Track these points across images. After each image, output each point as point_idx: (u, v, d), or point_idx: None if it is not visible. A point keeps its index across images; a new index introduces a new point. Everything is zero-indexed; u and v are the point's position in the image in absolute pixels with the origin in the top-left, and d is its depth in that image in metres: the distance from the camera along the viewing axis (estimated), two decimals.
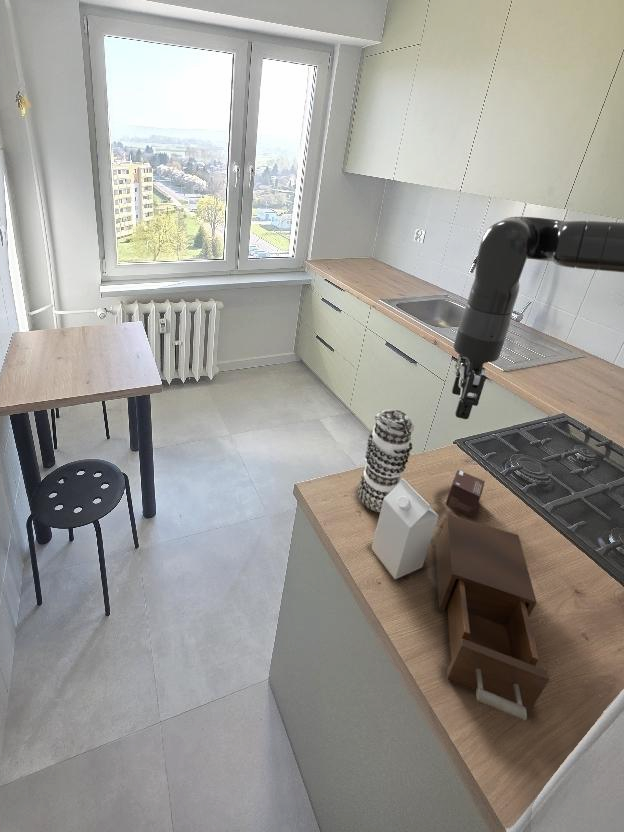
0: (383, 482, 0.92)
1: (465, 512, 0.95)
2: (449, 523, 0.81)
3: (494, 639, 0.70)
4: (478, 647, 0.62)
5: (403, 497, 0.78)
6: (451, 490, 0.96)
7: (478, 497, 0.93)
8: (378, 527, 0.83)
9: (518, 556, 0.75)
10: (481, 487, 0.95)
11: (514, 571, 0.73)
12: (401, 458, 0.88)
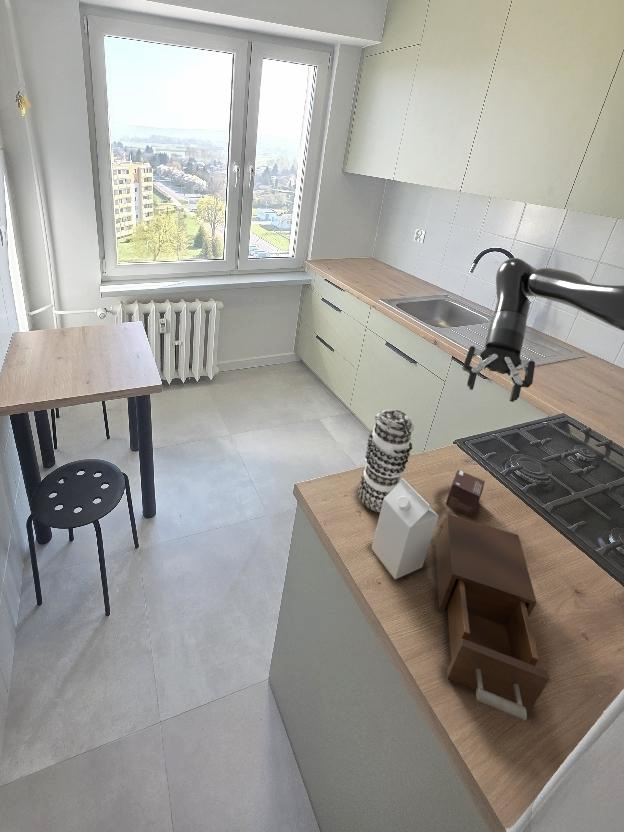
0: (383, 482, 0.92)
1: (465, 512, 0.95)
2: (449, 523, 0.81)
3: (494, 639, 0.70)
4: (478, 647, 0.62)
5: (403, 497, 0.78)
6: (451, 490, 0.96)
7: (478, 497, 0.93)
8: (378, 527, 0.83)
9: (518, 556, 0.75)
10: (481, 487, 0.95)
11: (514, 571, 0.73)
12: (401, 458, 0.88)
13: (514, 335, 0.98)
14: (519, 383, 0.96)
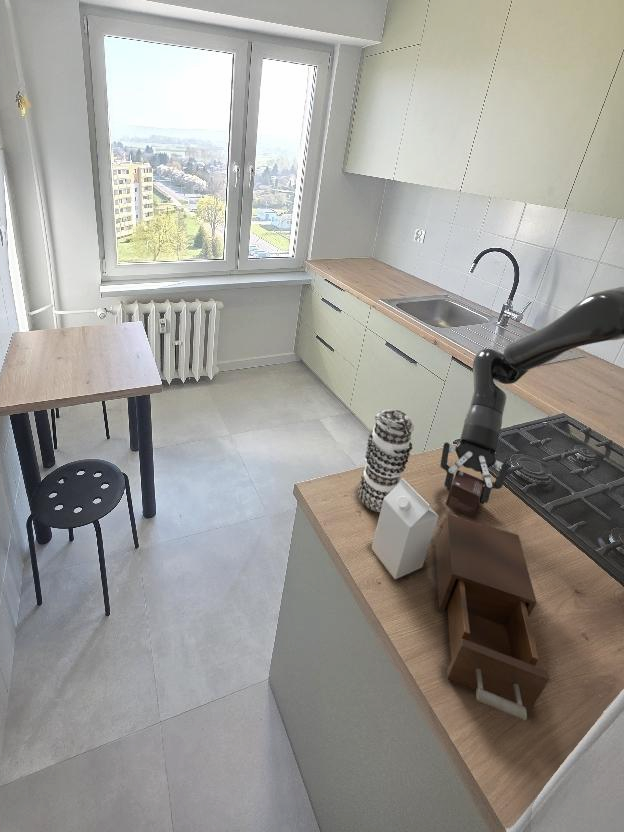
0: (383, 482, 0.92)
1: (465, 512, 0.95)
2: (449, 523, 0.81)
3: (494, 639, 0.70)
4: (478, 647, 0.62)
5: (403, 497, 0.78)
6: (451, 490, 0.96)
7: (478, 497, 0.93)
8: (378, 527, 0.83)
9: (518, 556, 0.75)
10: (481, 487, 0.95)
11: (514, 571, 0.73)
12: (401, 458, 0.88)
13: (489, 433, 0.96)
14: (488, 486, 0.94)
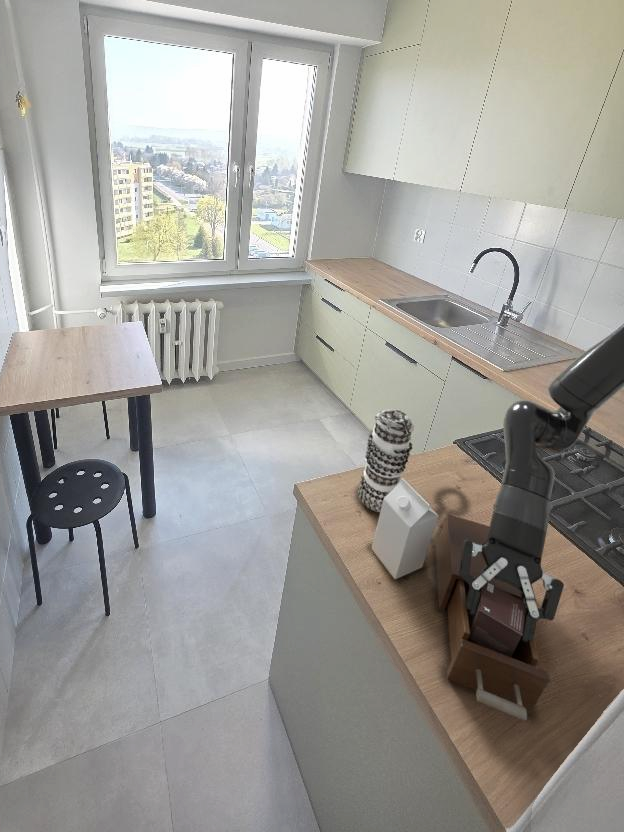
0: (383, 482, 0.92)
1: (498, 651, 0.64)
2: (449, 523, 0.81)
3: None
4: (478, 647, 0.62)
5: (403, 497, 0.78)
6: (477, 618, 0.65)
7: (519, 635, 0.62)
8: (378, 527, 0.83)
9: None
10: (522, 616, 0.64)
11: None
12: (401, 458, 0.88)
13: (532, 533, 0.65)
14: (533, 615, 0.63)
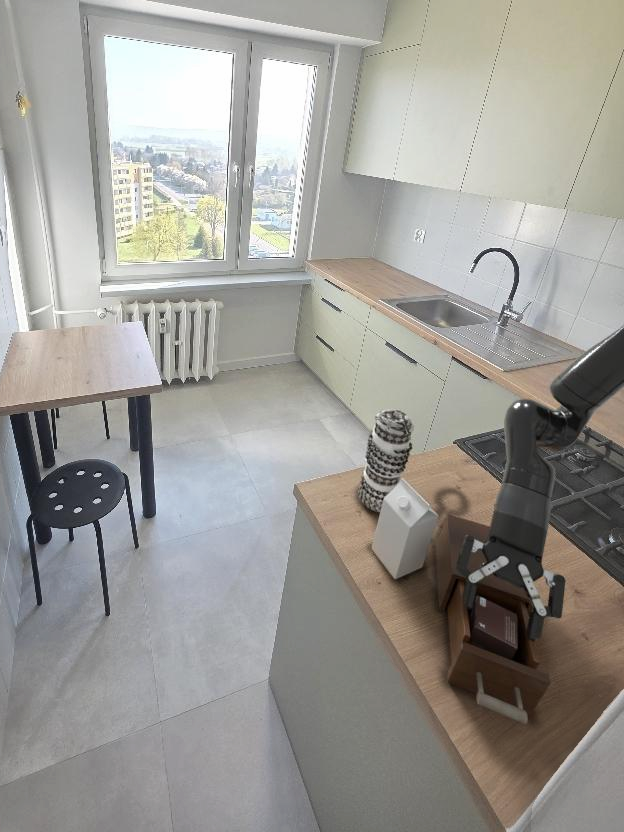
0: (383, 482, 0.92)
1: None
2: (449, 523, 0.81)
3: None
4: (478, 650, 0.62)
5: (403, 497, 0.78)
6: (473, 634, 0.66)
7: (514, 649, 0.63)
8: (378, 527, 0.83)
9: None
10: (515, 628, 0.65)
11: None
12: (401, 458, 0.88)
13: (533, 532, 0.65)
14: (541, 613, 0.63)
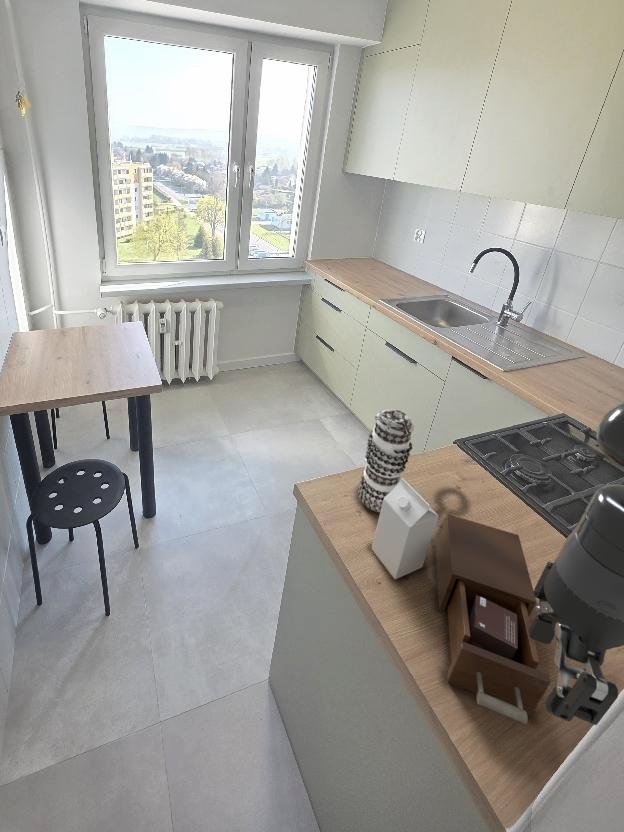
0: (383, 482, 0.92)
1: None
2: (449, 523, 0.81)
3: None
4: (478, 650, 0.62)
5: (403, 497, 0.78)
6: (473, 634, 0.66)
7: (514, 649, 0.63)
8: (378, 527, 0.83)
9: (518, 556, 0.75)
10: (515, 628, 0.65)
11: (514, 571, 0.73)
12: (401, 458, 0.88)
13: None
14: None
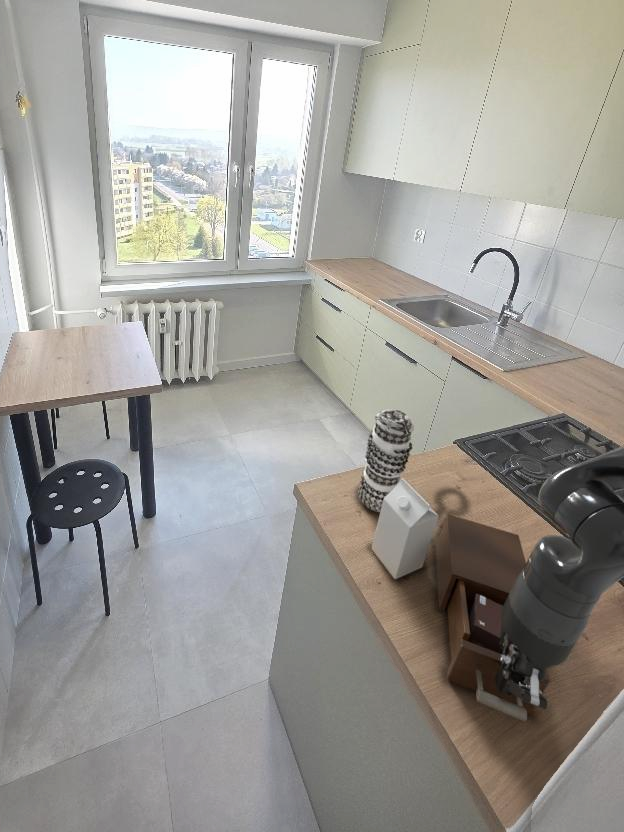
0: (383, 482, 0.92)
1: None
2: (449, 523, 0.81)
3: None
4: (478, 648, 0.62)
5: (403, 497, 0.78)
6: (473, 632, 0.66)
7: None
8: (378, 527, 0.83)
9: (518, 556, 0.75)
10: None
11: (514, 571, 0.73)
12: (401, 458, 0.88)
13: None
14: None
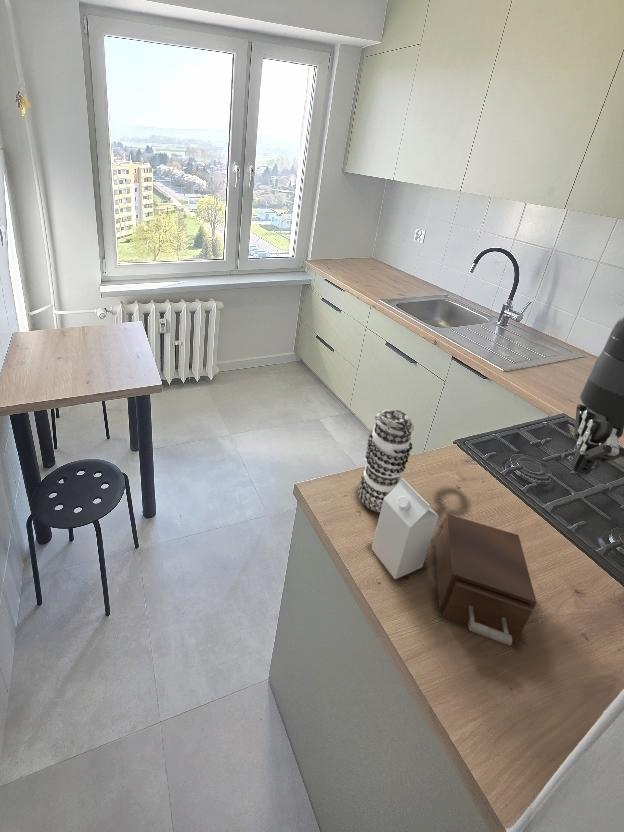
0: (383, 482, 0.92)
1: None
2: (449, 523, 0.81)
3: None
4: (470, 586, 0.71)
5: (403, 497, 0.78)
6: None
7: None
8: (378, 527, 0.83)
9: (518, 556, 0.75)
10: None
11: (514, 571, 0.73)
12: (401, 458, 0.88)
13: None
14: None
